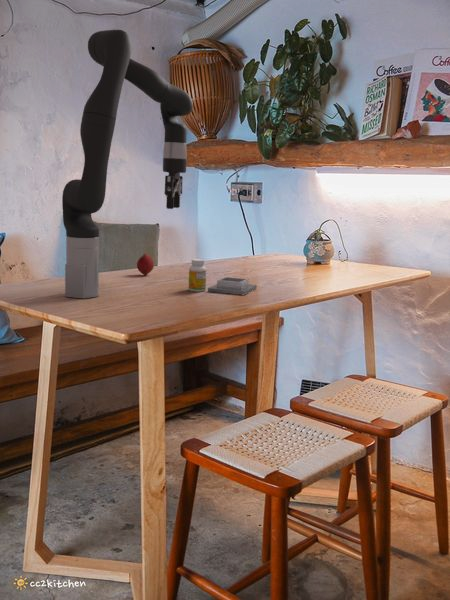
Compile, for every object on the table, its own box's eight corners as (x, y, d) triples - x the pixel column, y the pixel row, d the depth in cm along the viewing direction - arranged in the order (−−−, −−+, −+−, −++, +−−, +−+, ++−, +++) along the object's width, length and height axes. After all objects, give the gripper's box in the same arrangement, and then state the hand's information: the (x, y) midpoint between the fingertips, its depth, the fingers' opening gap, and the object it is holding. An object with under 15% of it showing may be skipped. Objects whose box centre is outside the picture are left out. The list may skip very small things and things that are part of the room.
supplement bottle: (186, 288, 217) (187, 258, 215) (202, 288, 219) (203, 258, 217) (191, 292, 212) (192, 261, 211) (207, 291, 214) (209, 260, 212)
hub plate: (244, 295, 210) (245, 284, 210) (207, 291, 214) (208, 281, 213) (256, 288, 223) (257, 278, 223) (221, 285, 227) (222, 275, 226)
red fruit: (145, 277, 236) (145, 254, 235) (133, 275, 240) (133, 252, 238) (156, 275, 241) (157, 253, 239) (144, 273, 244) (145, 251, 243)
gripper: (181, 157, 212) (179, 209, 215) (190, 158, 226) (189, 208, 229) (157, 156, 213) (156, 208, 216) (168, 157, 227) (167, 206, 230)
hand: (173, 208), depth 222 cm, fingers open, 8 cm apart
